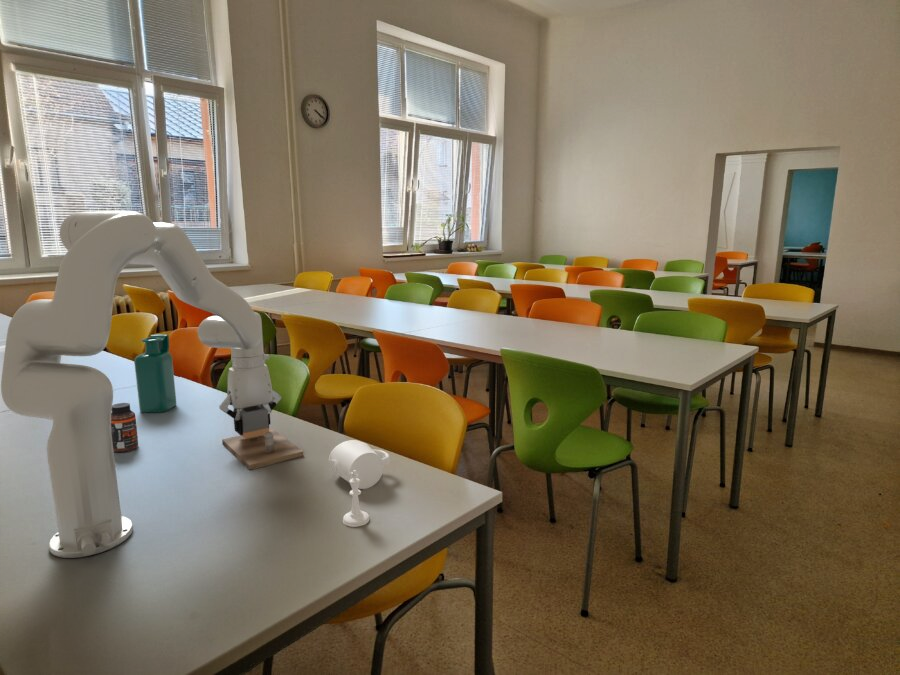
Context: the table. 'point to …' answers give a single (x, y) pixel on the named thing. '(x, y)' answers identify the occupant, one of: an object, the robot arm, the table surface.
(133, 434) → the supplement bottle
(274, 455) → the pin board
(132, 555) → the table surface
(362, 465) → the mug
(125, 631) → the table surface
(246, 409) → the sleeve
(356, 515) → the chess piece
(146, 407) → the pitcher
